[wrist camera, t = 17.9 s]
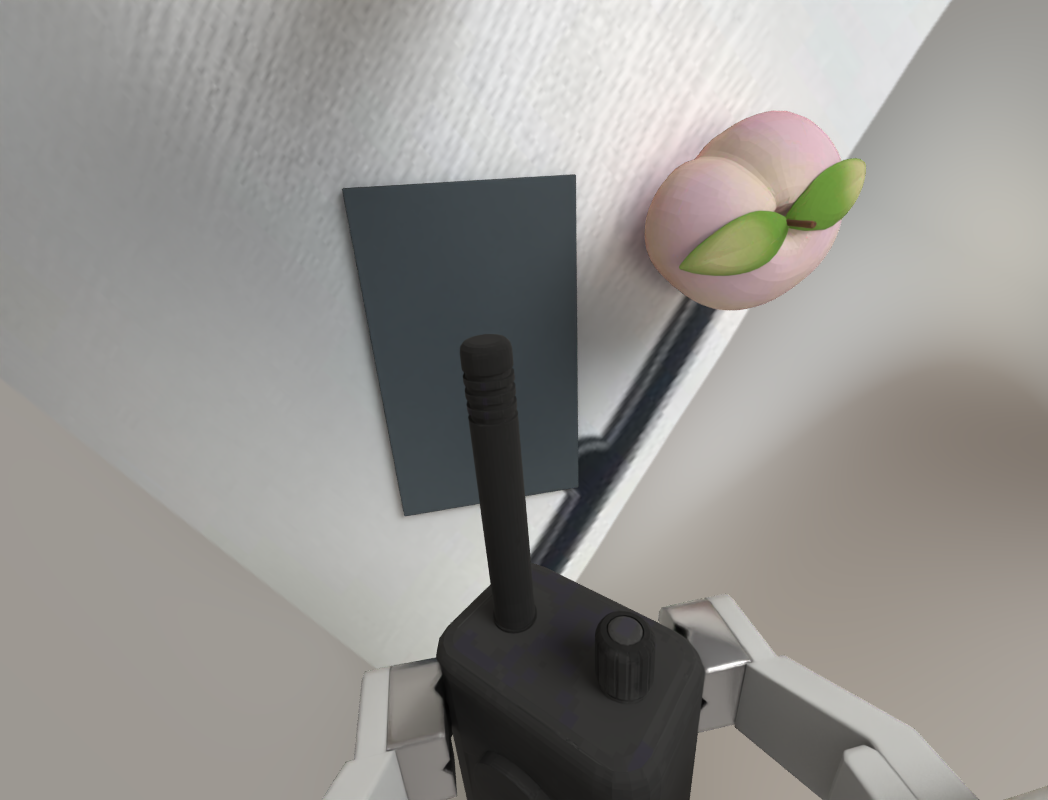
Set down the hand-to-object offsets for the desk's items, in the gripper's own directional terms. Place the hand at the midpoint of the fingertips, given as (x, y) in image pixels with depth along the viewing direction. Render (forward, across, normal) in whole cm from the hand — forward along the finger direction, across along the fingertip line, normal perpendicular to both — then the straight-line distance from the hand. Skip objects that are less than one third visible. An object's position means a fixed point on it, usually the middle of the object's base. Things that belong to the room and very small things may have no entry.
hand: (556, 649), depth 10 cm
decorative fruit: (+21, +14, +6) cm, 26 cm away
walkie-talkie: (-1, 0, -8) cm, 8 cm away
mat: (+21, +1, -1) cm, 21 cm away
